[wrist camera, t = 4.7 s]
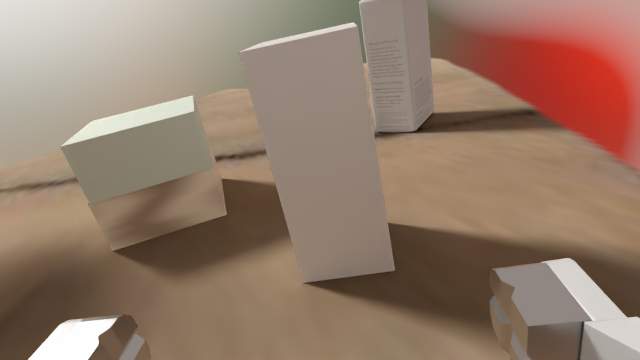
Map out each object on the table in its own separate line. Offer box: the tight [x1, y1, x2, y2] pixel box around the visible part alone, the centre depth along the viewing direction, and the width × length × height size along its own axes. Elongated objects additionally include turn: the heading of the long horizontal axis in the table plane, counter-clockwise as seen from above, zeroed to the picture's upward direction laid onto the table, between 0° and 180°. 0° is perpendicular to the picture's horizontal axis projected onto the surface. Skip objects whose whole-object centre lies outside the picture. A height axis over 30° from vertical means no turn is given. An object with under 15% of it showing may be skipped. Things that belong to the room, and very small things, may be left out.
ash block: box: [88, 143, 227, 251], centre depth 29 cm, size 8×8×4 cm
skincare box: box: [359, 0, 434, 132], centre depth 36 cm, size 6×4×12 cm
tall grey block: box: [239, 22, 395, 283], centre depth 18 cm, size 4×4×11 cm
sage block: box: [60, 96, 214, 204], centre depth 28 cm, size 8×8×4 cm
